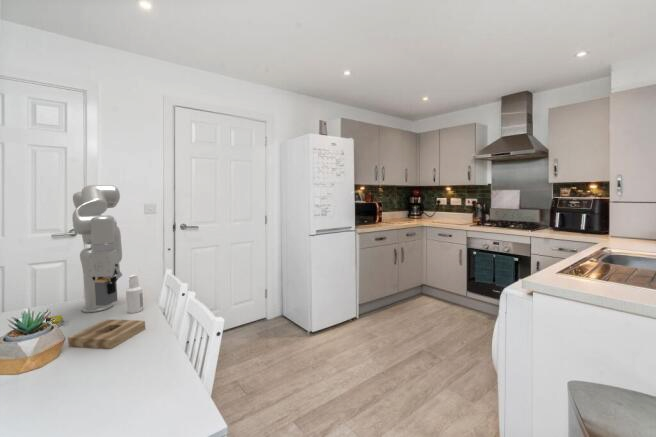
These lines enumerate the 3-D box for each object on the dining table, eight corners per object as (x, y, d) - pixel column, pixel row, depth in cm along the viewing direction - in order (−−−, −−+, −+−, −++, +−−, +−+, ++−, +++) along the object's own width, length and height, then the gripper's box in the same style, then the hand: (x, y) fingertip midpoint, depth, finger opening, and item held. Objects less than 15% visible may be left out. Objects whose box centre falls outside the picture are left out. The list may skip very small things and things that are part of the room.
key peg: (96, 305, 123) (94, 280, 122) (108, 300, 129) (107, 276, 128) (105, 305, 122) (103, 280, 122) (117, 300, 128) (116, 276, 128)
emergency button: (24, 318, 137) (68, 311, 146) (24, 328, 138) (69, 320, 147) (20, 325, 130) (66, 317, 139) (20, 335, 130) (67, 326, 139)
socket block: (68, 346, 119) (67, 337, 119) (107, 327, 137) (107, 319, 137) (111, 348, 117) (110, 339, 117) (145, 328, 135) (144, 320, 134)
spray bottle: (146, 309, 158) (144, 274, 157) (134, 314, 152) (132, 277, 151) (136, 307, 161) (134, 273, 160) (123, 312, 154) (121, 276, 153)
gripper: (76, 249, 122) (79, 295, 123) (115, 249, 120) (118, 296, 121) (93, 246, 129) (95, 289, 130) (129, 246, 127) (132, 290, 128)
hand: (106, 292), depth 125 cm, fingers closed on key peg, 4 cm apart
